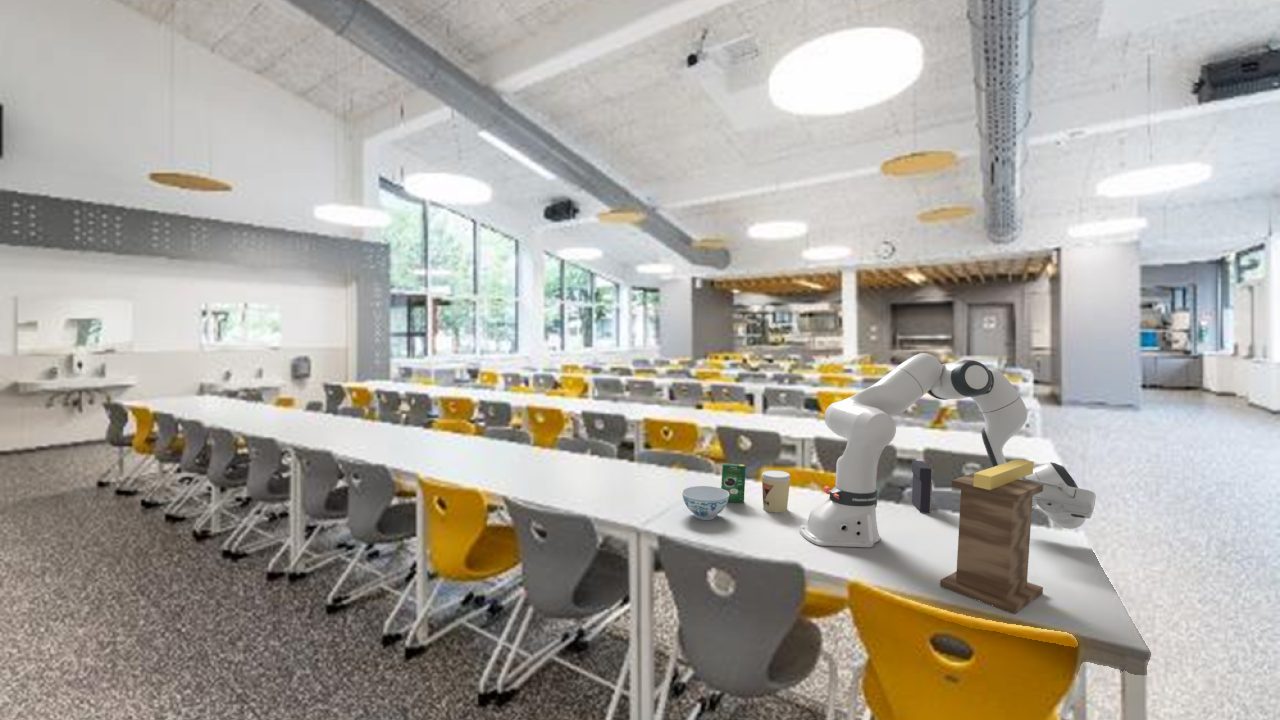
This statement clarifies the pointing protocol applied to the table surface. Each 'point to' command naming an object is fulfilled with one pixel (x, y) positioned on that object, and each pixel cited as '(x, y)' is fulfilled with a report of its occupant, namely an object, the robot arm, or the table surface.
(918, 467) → the dark grey upright block
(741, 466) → the coffee box
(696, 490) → the chinaware
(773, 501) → the coffee cup
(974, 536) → the walnut stand
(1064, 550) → the table surface
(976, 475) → the mustard bar
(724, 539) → the table surface
